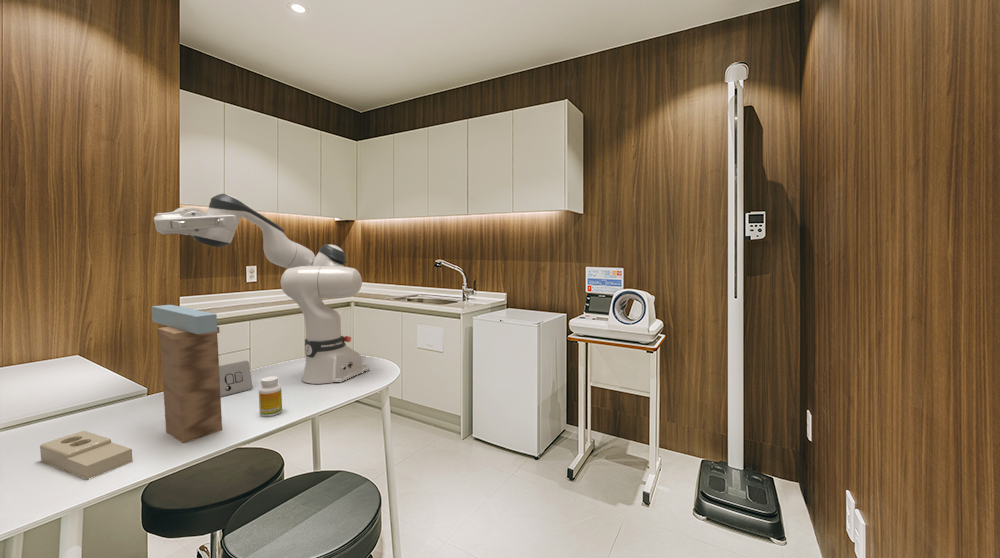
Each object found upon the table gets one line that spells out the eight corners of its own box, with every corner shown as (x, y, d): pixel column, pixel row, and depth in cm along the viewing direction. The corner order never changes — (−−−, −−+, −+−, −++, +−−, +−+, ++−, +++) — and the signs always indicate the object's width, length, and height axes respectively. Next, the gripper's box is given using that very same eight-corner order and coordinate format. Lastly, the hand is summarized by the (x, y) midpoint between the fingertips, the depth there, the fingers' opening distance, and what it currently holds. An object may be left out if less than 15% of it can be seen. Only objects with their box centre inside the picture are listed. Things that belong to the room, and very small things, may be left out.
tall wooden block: (206, 419, 104) (200, 322, 102) (224, 429, 99) (219, 326, 97) (163, 432, 97) (156, 328, 95) (180, 444, 91) (174, 333, 89)
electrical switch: (218, 398, 119) (216, 367, 119) (213, 395, 122) (210, 365, 122) (253, 389, 126) (251, 360, 126) (247, 387, 130) (245, 359, 129)
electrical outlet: (86, 461, 77) (39, 444, 84) (87, 481, 78) (40, 462, 84) (131, 444, 84) (84, 429, 90) (132, 462, 84) (85, 446, 91)
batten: (171, 319, 106) (170, 304, 106) (217, 331, 92) (216, 314, 92) (152, 321, 102) (151, 306, 102) (197, 334, 89) (196, 316, 88)
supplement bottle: (285, 412, 109) (283, 378, 108) (263, 419, 105) (261, 383, 104) (278, 407, 113) (277, 374, 112) (257, 413, 109) (255, 378, 108)
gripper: (232, 228, 134) (244, 231, 125) (153, 234, 120) (160, 237, 110) (229, 209, 133) (240, 210, 123) (149, 213, 118) (155, 214, 109)
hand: (202, 223), depth 117 cm, fingers open, 8 cm apart
